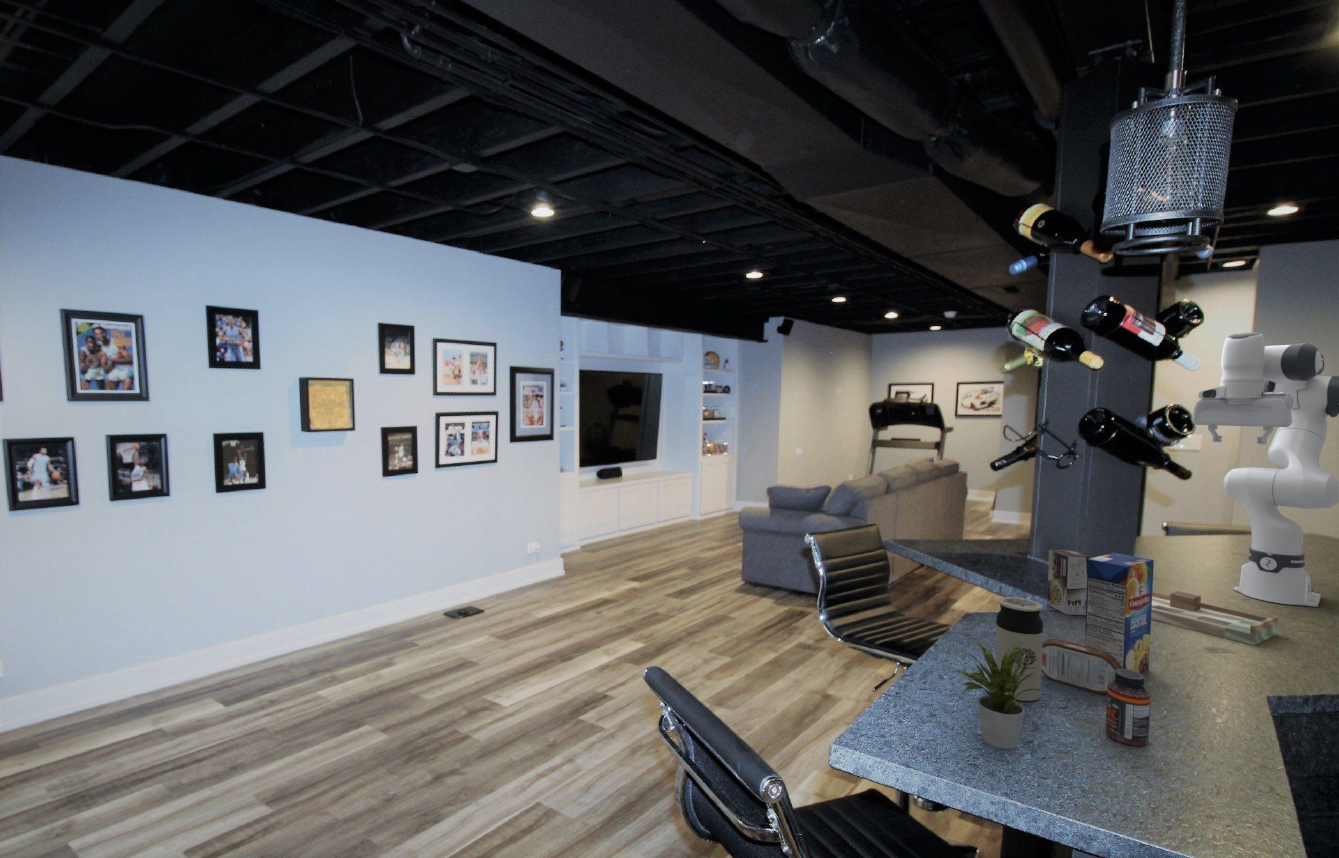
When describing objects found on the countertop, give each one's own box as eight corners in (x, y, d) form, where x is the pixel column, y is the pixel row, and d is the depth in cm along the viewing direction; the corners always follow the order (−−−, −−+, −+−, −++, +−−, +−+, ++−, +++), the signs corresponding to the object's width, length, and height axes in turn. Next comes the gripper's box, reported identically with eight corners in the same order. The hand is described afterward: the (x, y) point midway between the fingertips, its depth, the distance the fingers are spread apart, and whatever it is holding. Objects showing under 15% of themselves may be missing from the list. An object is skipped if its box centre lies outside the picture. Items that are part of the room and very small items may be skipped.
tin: (1123, 696, 122) (1125, 653, 122) (1120, 701, 120) (1121, 658, 119) (1037, 671, 133) (1038, 633, 132) (1032, 676, 131) (1034, 636, 130)
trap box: (1143, 602, 182) (1144, 586, 182) (1277, 634, 157) (1278, 616, 157) (1117, 609, 174) (1118, 594, 174) (1253, 645, 149) (1254, 626, 149)
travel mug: (994, 680, 128) (997, 594, 127) (1038, 689, 124) (1042, 600, 124) (993, 696, 121) (997, 604, 120) (1041, 706, 117) (1045, 611, 117)
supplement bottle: (1097, 727, 110) (1100, 664, 109) (1133, 730, 109) (1136, 666, 109) (1118, 746, 104) (1121, 679, 103) (1157, 748, 103) (1160, 681, 103)
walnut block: (1178, 603, 173) (1178, 590, 173) (1200, 608, 169) (1201, 595, 169) (1169, 606, 171) (1170, 593, 171) (1192, 611, 166) (1192, 598, 166)
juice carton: (1110, 657, 141) (1114, 552, 140) (1149, 670, 134) (1154, 559, 133) (1083, 669, 134) (1087, 558, 133) (1122, 682, 128) (1127, 566, 127)
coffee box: (1089, 615, 170) (1092, 556, 169) (1065, 614, 170) (1067, 556, 169) (1068, 604, 179) (1071, 548, 178) (1046, 604, 179) (1048, 548, 178)
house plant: (969, 708, 116) (972, 621, 116) (1054, 736, 107) (1058, 642, 106) (940, 736, 106) (943, 642, 105) (1032, 770, 96) (1036, 666, 96)
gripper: (1297, 392, 163) (1295, 445, 163) (1200, 392, 180) (1198, 440, 181) (1289, 391, 159) (1286, 445, 160) (1191, 392, 177) (1188, 441, 178)
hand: (1238, 442), depth 171 cm, fingers open, 8 cm apart
